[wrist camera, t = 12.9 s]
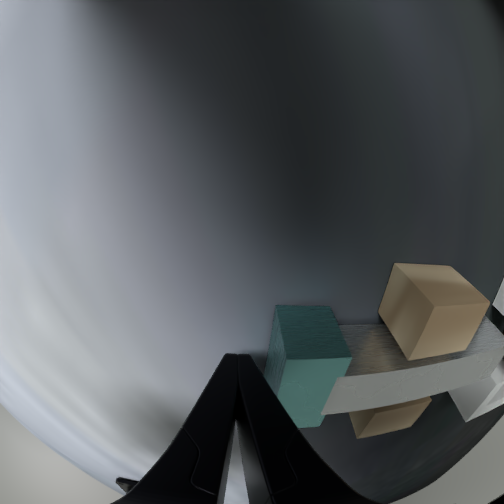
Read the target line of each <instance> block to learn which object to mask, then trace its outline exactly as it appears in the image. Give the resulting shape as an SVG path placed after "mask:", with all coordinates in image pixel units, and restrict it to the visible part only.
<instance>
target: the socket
mask: <svg viewBox="0 0 504 504" xmlns="http://www.w3.org/2000/svg"><path fill="white" fill-rule="evenodd" d="M492 305H493V306H494V307H495V308H496V309H497V310H498V311H499V312H500V313H501V314H502V315H503V316H504V279H503V281H502V284H501V286H500V288H499V291H498V293H497V295H496V297H495V300H494V302H493V304H492ZM448 392H449V394H450V396H451V398H452V399H453V401H454V403H455V404H456V406H457V408H458V410H459V411H460V413H461V415H462V417H463V418H464V420H465V422H467V421H469V420H471V419H474V418H476V417H478V416H480V415H482V414H484V413H486V412H488V411H490V410H492V409H494V408H496V407H498V406H500V405H501V404H503V403H504V359H501V361H500V362H499V364H498V365H497V367H496V368H495V370H494V371H493V373H492V374H491V376H490V377H487V378H484V379H482V380H479V381H476V382H473V383H471V384H468V385H465V386H462V387H459V388H455V389H452V390H449V391H448Z"/></svg>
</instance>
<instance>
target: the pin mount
mask: <svg viewBox="0 0 504 504" xmlns="http://www.w3.org/2000/svg"><path fill="white" fill-rule="evenodd" d="M489 304H490V302H489V301H488V300H487V299H486V298H485V297H484V296H483V295H482V294H481V293H480V292H479V291H478V290H477V289H476V288H475V287H473V286H472V285H471V284H470V283H469V282H468V281H467V280H466V279H465V278H463V277H462V276H461V275H460V274H459V273H458V272H457V271H455V270H454V269H453V268H452V267H451V266H444V265H425V264H407V263H394V265H393V268H392V272H391V275H390V278H389V281H388V284H387V287H386V290H385V293H384V296H383V299H382V302H381V304H380V307H379V310H378V313H379V314H380V316H381V318H382V319H383V321H384V322H385V324H386V325H387V327H388V329H389V330H390V332H391V333H392V335H393V337H394V338H395V340H396V341H397V343H398V345H399V346H400V348H401V350H402V351H403V353H404V355H405V356H406V358H407V360H408V361H409V360H415V359H422V358H427V357H433V356H439V355H444V354H449V353H454V352H458V351H463V350H466V348H467V347H468V345H469V343H470V341H471V340H472V338H473V336H474V334H475V332H476V330H477V329H478V327H479V325H480V323H481V321H482V319H483V317H484V315H485V313H486V311H487V309H488V307H489ZM431 401H432V400H431V398H430V396H428V397H424V398H420V399H416V400H412V401H407V402H403V403H398V404H393V405H388V406H383V407H377V408H372V409H366V410H359V411H352V412H349V416H350V419H351V422H352V425H353V428H354V431H355V434H356V437H357V439H359V438H365V437H370V436H375V435H379V434H384V433H388V432H392V431H396V430H400V429H404V428H408V427H411V426H412V424H413V423H414V422H415V421H416V420H417V418H418V417H419V416H420V415H421V414H422V412H423V411H424V410H425V409H426V407H427V406H428V405H429V403H430V402H431Z"/></svg>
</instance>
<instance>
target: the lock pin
mask: <svg viewBox="0 0 504 504" xmlns="http://www.w3.org/2000/svg"><path fill="white" fill-rule="evenodd" d="M503 356H504V335H503V334H502V333H501V332H500V331H499V330H498V329H497V327H496V326H495V325H494V324H493V323H492V322H491V321H490V320H489V319H488V318H487V317H486V316H485V315H484V317H483V319H482V321H481V323H480V325H479V327H478V329H477V330H476V332H475V334H474V336H473V338H472V340H471V341H470V343H469V345H468V347H467V348H466V350H463V351H458V352H454V353H449V354H444V355H439V356H433V357H427V358H422V359H415V360H409V361H408V360H407V358H406V356H405V355H404V353H403V351H402V350H401V348H400V346H399V345H398V343H397V341H396V340H395V338H394V337H393V335H392V333H391V332H390V330H389V329H388V327H387V325H386V324H385V323H382V324H357V325H338V323H337V321H336V319H335V317H334V314H333V312H332V310H331V308H330V306H287V305H276V307H275V314H274V320H273V326H272V332H271V338H270V343H269V349H268V355H267V361H266V366H265V372H264V378H265V379H266V381H267V382H268V384H269V385H270V387H271V388H272V390H273V391H274V393H275V395H276V396H277V398H278V399H279V401H280V402H281V404H282V405H283V407H284V408H285V410H286V411H287V413H288V414H289V416H290V417H291V418H292V420H293V421H294V423H295V424H296V426H297V427H298V428H307V427H318V426H320V425H321V423H322V421H323V419H324V417H325V415H327V414H336V413H345V412H352V411H359V410H366V409H372V408H377V407H383V406H388V405H393V404H398V403H403V402H407V401H412V400H416V399H420V398H424V397H428V396H431V395H435V394H439V393H442V392H446V391H449V390H452V389H455V388H459V387H462V386H465V385H468V384H471V383H473V382H476V381H479V380H482V379H484V378H487V377H490V376H491V374H492V373H493V371H494V370H495V368H496V367H497V365H498V364H499V362H500V361H501V359H502V358H503Z"/></svg>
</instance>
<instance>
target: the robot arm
mask: <svg viewBox="0 0 504 504" xmlns="http://www.w3.org/2000/svg"><path fill="white" fill-rule="evenodd" d="M235 423H237V430H238V437H239V444H240V450H241V456H242V463H243V469H244V475H245V481H246V487H247V493H248V498H249V504H382V503H379V502H376V501H374V500H371V499H368V498H366V497H364V496H362V495H360V494H359V493H357V492H356V491H355V490H353V489H352V488H351V487H350V486H349V485H348V484H347V483H346V482H345V481H344V480H343V479H342V478H341V477H339V476H338V475H337V474H336V473H335V472H334V471H333V470H332V469H331V468H330V467H329V465H328V464H327V463H326V462H325V461H324V460H323V459H322V458H321V457H320V456H319V455H318V454H317V453H316V451H315V450H314V449H313V448H312V446H311V445H310V444H309V443H308V441H307V440H306V439H305V437H304V436H303V434H302V433H301V431H300V430H298V427H297V426H296V424H295V423H294V421H293V420H292V418H291V417H290V416H289V414H288V413H287V411H286V410H285V408H284V407H283V405H282V404H281V402H280V401H279V399H278V398H277V396H276V395H275V393H274V391H273V390H272V388H271V387H270V385H269V384H268V382H267V381H266V379H265V378H264V376H263V374H262V373H261V371H260V370H259V368H258V367H257V365H256V363H255V362H254V360H253V359H252V357H251V356H250V355H249V354H238V355H237V354H231V353H226V354H225V355H224V356H223V358H222V360H221V361H220V363H219V365H218V367H217V368H216V370H215V372H214V373H213V375H212V377H211V379H210V380H209V382H208V384H207V385H206V387H205V389H204V390H203V392H202V394H201V395H200V397H199V399H198V401H197V402H196V404H195V406H194V407H193V409H192V411H191V412H190V414H189V416H188V417H187V419H186V421H185V422H184V424H183V425H182V428H181V429H180V430H179V432H178V433H177V435H176V437H175V438H174V440H173V441H172V443H171V444H170V446H169V447H168V449H167V450H166V451H165V452H164V454H163V455H162V456H161V457H160V459H159V460H158V461H157V462H156V463H155V464H154V466H153V467H152V468H151V469H150V470H149V471H148V472H147V473H146V475H145V476H144V477H143V478H142V479H141V480H140V481H139V482H138V483H137V482H132V481H128V480H124V479H119V478H116V483H117V484H118V485H119V486H120V487H121V488H122V489H123V490H124V491H125V492H126V495H125V496H123V497H122V498H120V499H119V500H117V501H115V502H113V503H111V504H224V497H225V491H226V484H227V477H228V470H229V464H230V457H231V450H232V443H233V436H234V430H235ZM488 504H504V494H502V495H500V496H499V497H497V498H496V499H494V500H493V501H491V502H490V503H488Z"/></svg>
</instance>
